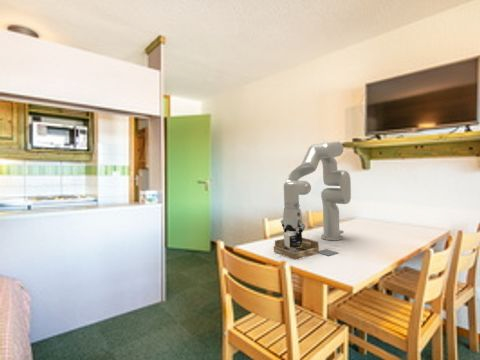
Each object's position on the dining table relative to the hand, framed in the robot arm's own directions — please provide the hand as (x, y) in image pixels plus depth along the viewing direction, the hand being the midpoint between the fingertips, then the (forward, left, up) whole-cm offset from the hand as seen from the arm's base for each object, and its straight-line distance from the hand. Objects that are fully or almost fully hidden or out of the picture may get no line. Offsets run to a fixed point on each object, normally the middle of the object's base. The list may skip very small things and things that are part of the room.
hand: (292, 238), depth 139 cm
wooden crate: (-2, 0, -8) cm, 8 cm away
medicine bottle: (0, 0, -4) cm, 4 cm away
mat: (-14, +10, -8) cm, 19 cm away
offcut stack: (-8, 0, -8) cm, 11 cm away
